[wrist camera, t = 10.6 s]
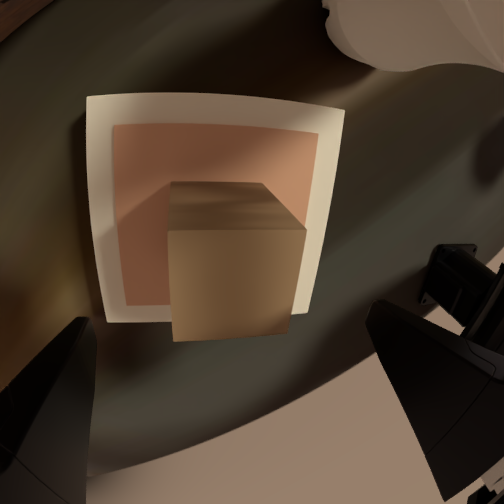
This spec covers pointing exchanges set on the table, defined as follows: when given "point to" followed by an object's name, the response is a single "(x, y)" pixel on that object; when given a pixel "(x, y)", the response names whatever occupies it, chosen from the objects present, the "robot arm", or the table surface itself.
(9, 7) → the tissue box cover
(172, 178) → the plinth
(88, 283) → the table surface
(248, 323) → the walnut block
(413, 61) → the water bottle
